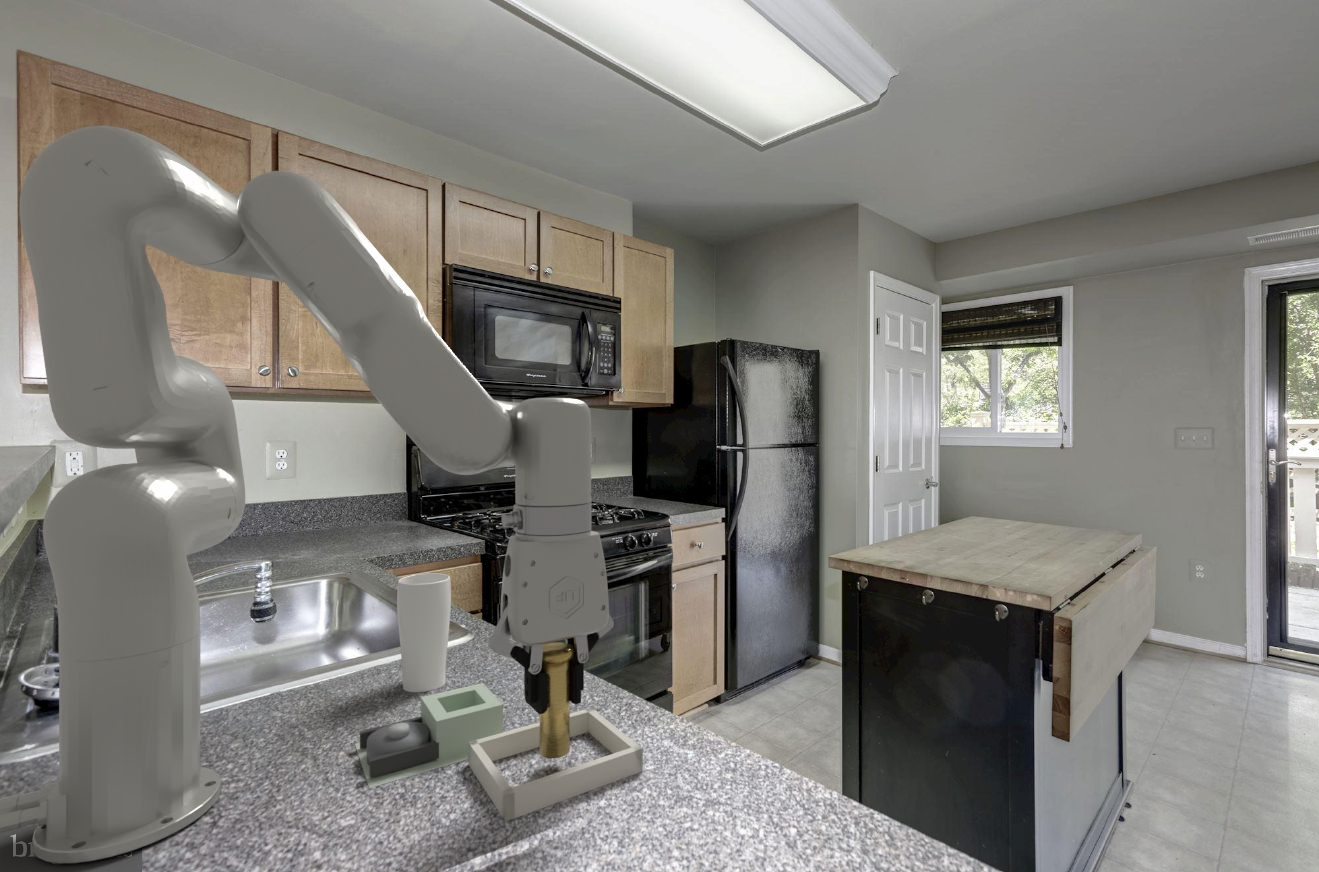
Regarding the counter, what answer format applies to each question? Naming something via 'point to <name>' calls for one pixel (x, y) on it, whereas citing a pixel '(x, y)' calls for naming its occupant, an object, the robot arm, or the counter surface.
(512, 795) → the tray
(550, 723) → the pin
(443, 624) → the drinking glass
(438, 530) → the counter surface
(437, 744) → the green socket holder
